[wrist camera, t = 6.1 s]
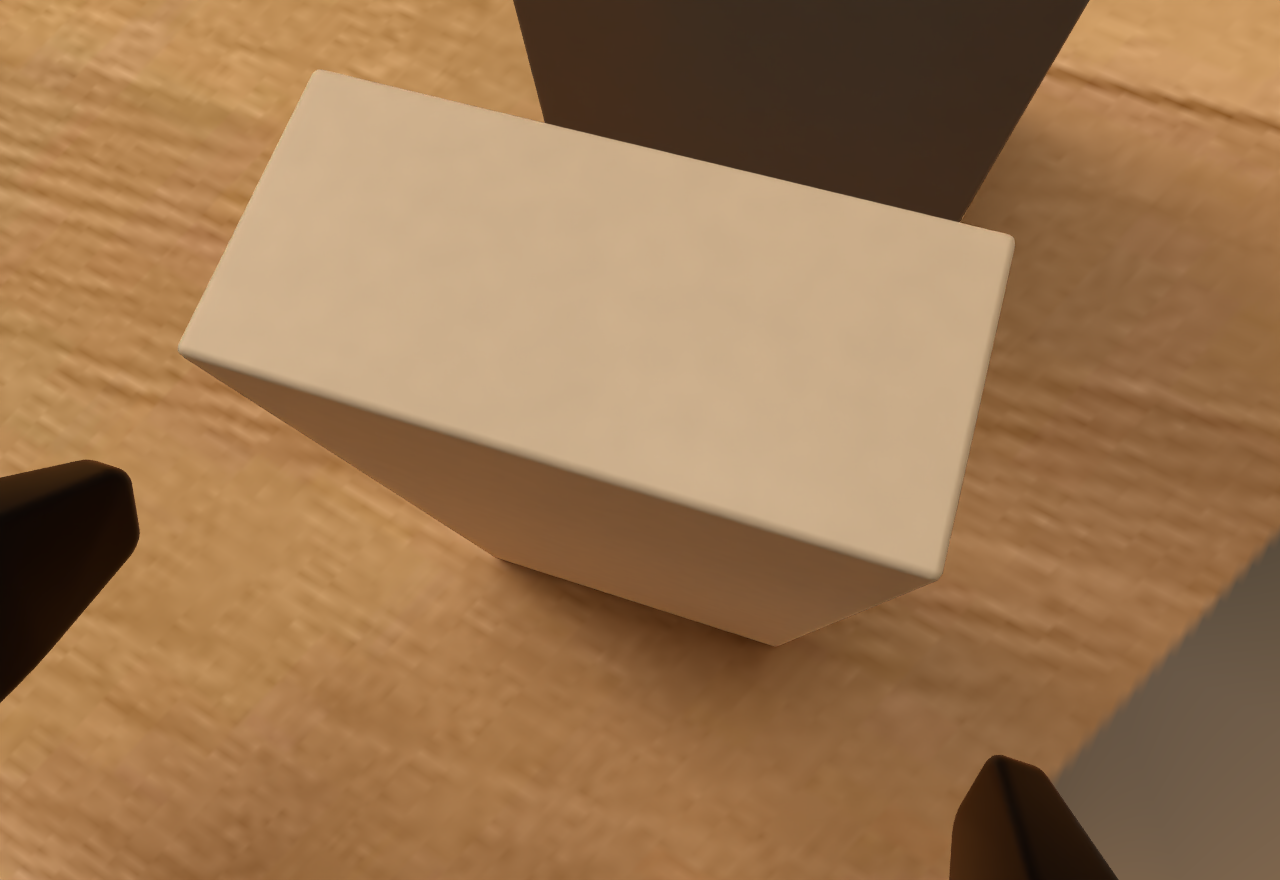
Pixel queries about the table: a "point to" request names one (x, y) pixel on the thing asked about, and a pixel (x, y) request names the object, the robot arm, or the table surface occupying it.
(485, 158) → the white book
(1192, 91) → the table surface
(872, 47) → the grey books
